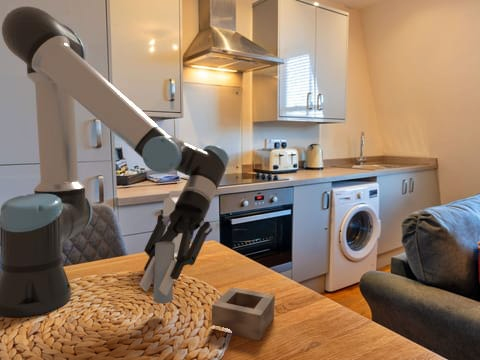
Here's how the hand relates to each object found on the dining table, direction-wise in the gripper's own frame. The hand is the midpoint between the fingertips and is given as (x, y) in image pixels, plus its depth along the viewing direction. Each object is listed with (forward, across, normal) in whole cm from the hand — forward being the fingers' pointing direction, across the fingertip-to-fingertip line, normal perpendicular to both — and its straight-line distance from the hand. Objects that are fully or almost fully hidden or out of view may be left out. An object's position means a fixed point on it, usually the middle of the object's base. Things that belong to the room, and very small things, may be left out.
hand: (153, 290), depth 72 cm
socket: (-1, -17, -10) cm, 20 cm away
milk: (-20, +16, -30) cm, 40 cm away
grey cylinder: (0, 0, -5) cm, 5 cm away
